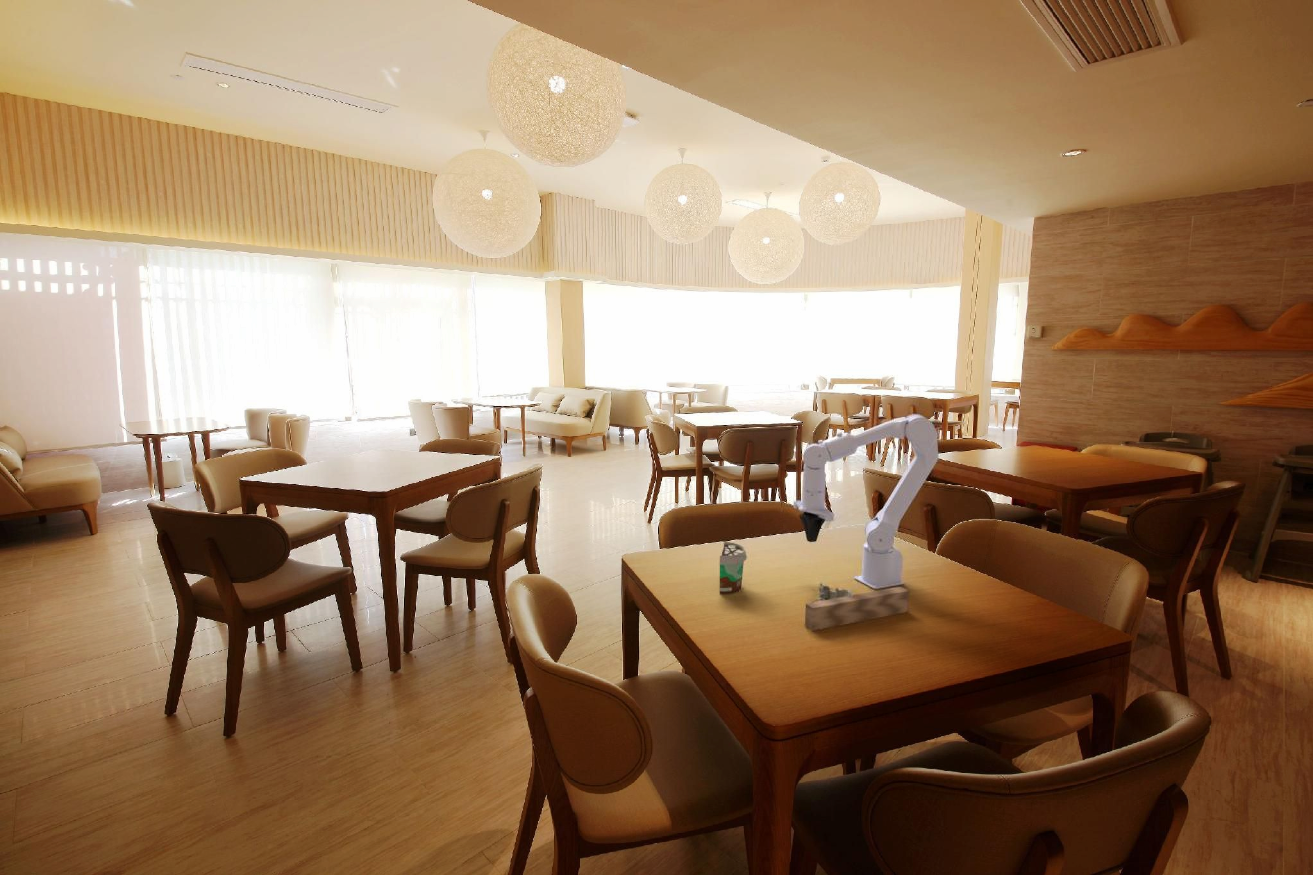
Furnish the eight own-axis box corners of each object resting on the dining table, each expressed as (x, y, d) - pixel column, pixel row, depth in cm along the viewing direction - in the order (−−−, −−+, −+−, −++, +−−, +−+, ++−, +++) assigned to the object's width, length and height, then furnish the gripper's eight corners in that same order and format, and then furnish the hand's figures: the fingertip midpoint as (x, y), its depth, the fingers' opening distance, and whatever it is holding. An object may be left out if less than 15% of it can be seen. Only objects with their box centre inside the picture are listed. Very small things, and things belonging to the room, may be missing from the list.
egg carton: (818, 597, 142) (819, 581, 142) (851, 601, 140) (852, 584, 139) (817, 615, 132) (818, 598, 131) (852, 619, 130) (853, 602, 129)
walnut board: (899, 607, 136) (900, 586, 135) (907, 611, 133) (909, 590, 133) (804, 625, 126) (805, 603, 126) (812, 630, 124) (812, 608, 123)
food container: (744, 598, 141) (745, 558, 139) (718, 596, 142) (719, 556, 140) (747, 579, 153) (748, 542, 151) (723, 577, 154) (724, 540, 152)
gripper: (784, 485, 158) (783, 534, 160) (818, 497, 144) (816, 551, 146) (806, 483, 160) (804, 532, 162) (841, 495, 147) (839, 547, 149)
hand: (811, 541), depth 154 cm, fingers closed
